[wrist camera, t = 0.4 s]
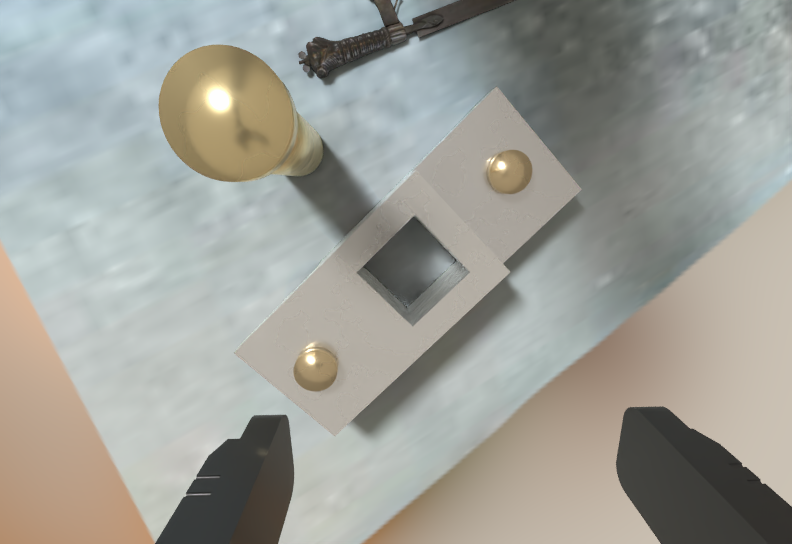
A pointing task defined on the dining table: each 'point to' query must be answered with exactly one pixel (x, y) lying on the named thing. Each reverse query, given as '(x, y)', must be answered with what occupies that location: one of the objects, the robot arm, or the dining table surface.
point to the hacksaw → (388, 33)
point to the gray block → (442, 301)
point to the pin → (234, 117)
